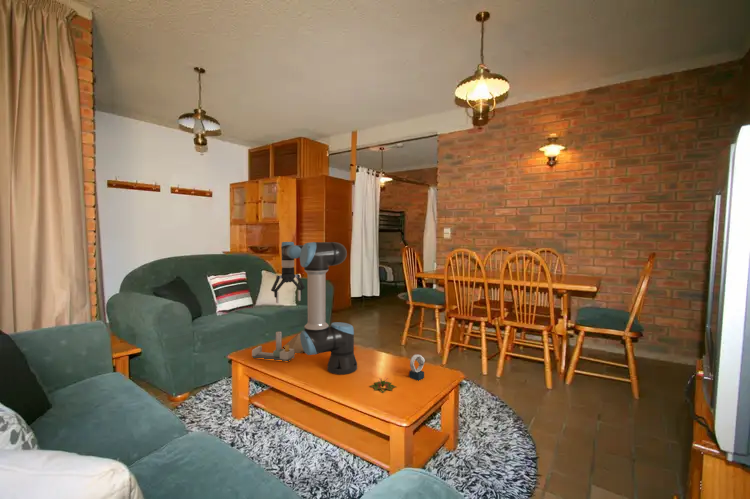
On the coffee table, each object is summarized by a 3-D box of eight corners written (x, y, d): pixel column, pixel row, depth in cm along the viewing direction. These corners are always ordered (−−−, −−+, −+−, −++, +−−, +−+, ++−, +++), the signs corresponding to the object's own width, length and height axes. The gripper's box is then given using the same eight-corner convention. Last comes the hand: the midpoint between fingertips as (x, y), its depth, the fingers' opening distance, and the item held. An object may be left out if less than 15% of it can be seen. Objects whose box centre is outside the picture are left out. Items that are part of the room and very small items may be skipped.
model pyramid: (289, 356, 189) (289, 339, 189) (282, 347, 204) (281, 331, 204) (317, 351, 197) (317, 334, 197) (308, 343, 212) (308, 327, 212)
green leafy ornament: (383, 379, 159) (383, 370, 158) (401, 388, 150) (401, 378, 150) (364, 387, 150) (364, 377, 150) (382, 396, 142) (382, 386, 141)
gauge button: (289, 352, 184) (289, 344, 184) (287, 353, 182) (287, 346, 182) (286, 351, 184) (286, 344, 184) (284, 353, 182) (284, 345, 182)
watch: (426, 377, 160) (426, 354, 160) (416, 382, 155) (416, 358, 154) (417, 373, 164) (417, 351, 164) (406, 378, 159) (406, 355, 158)
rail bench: (294, 357, 186) (294, 348, 186) (288, 362, 179) (287, 353, 179) (259, 354, 192) (259, 345, 191) (252, 358, 185) (252, 349, 185)
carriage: (284, 354, 186) (284, 331, 186) (279, 357, 182) (279, 333, 181) (278, 353, 187) (277, 330, 187) (273, 356, 182) (272, 333, 182)
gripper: (305, 265, 213) (305, 298, 214) (265, 267, 200) (266, 302, 201) (309, 266, 207) (310, 300, 208) (268, 268, 194) (269, 304, 194)
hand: (288, 301), depth 204 cm, fingers open, 13 cm apart
